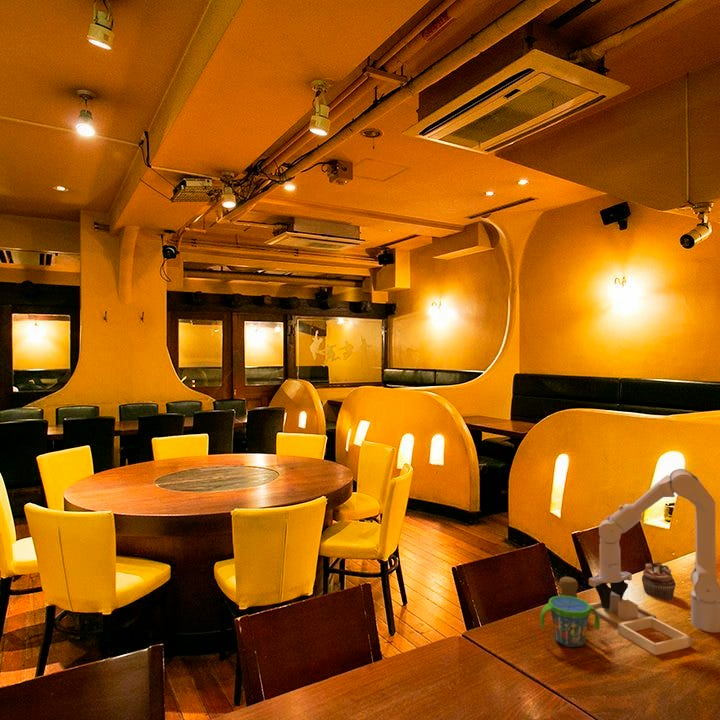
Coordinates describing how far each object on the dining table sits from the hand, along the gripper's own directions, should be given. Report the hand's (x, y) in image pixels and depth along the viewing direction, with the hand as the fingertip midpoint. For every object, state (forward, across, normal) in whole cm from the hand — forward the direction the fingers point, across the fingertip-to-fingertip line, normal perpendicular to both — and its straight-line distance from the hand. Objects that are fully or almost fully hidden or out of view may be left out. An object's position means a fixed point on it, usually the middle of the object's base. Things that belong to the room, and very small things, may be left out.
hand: (610, 606), depth 159 cm
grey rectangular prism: (+1, 0, 0) cm, 1 cm away
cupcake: (+2, -23, -4) cm, 23 cm away
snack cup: (+2, +23, +9) cm, 25 cm away
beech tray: (+2, 0, +3) cm, 4 cm away
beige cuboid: (+1, 0, +6) cm, 6 cm away
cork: (+2, +13, -3) cm, 13 cm away
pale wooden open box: (+2, +3, +18) cm, 18 cm away
